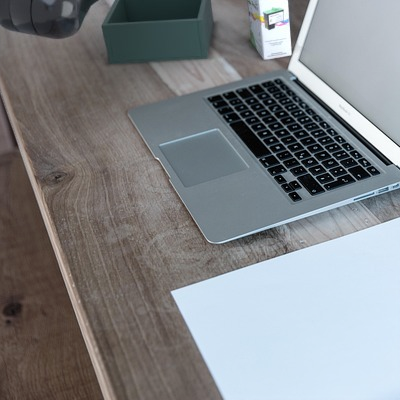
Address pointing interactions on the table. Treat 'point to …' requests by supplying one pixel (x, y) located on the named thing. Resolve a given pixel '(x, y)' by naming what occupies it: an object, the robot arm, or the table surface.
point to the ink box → (270, 27)
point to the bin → (158, 30)
